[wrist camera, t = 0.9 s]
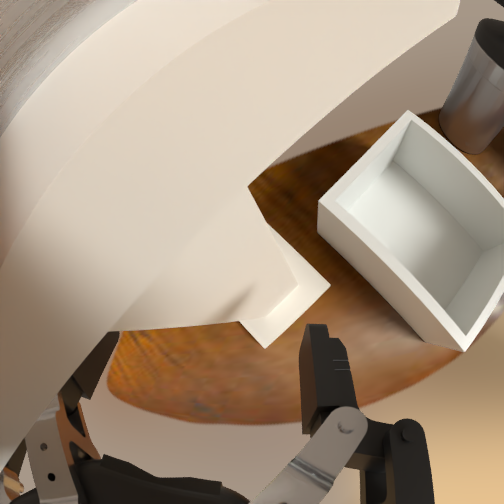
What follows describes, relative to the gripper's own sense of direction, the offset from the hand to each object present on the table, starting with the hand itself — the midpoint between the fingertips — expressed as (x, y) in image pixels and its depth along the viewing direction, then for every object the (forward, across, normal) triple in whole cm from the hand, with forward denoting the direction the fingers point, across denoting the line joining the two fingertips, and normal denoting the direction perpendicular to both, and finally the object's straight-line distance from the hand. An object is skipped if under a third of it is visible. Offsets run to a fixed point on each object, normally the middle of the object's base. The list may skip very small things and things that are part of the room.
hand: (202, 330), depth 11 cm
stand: (+19, -3, +12) cm, 22 cm away
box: (+20, -20, +5) cm, 29 cm away
